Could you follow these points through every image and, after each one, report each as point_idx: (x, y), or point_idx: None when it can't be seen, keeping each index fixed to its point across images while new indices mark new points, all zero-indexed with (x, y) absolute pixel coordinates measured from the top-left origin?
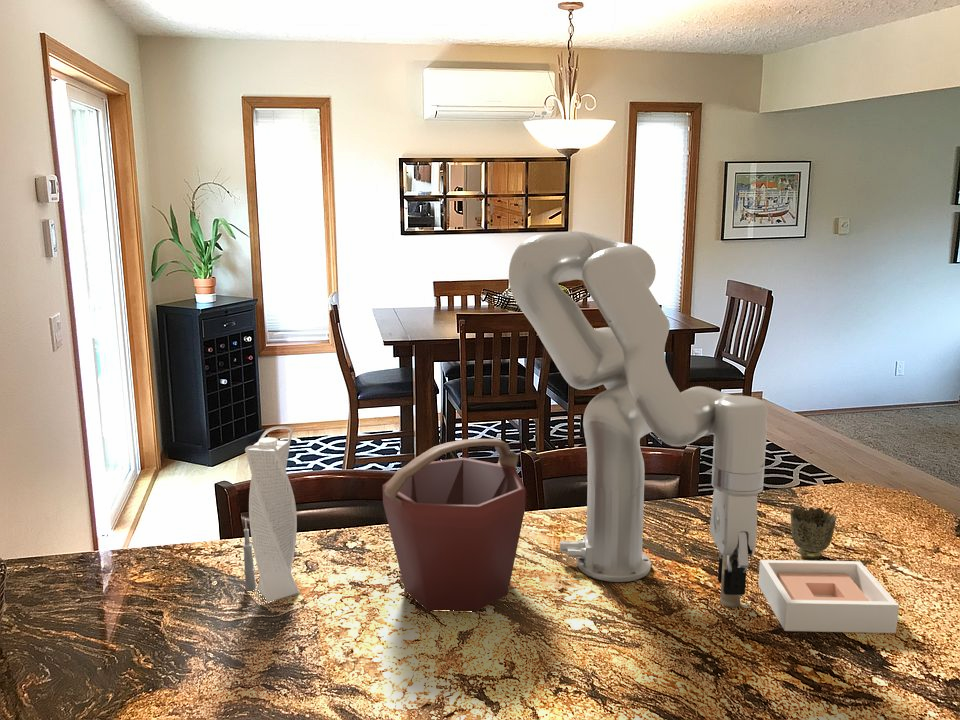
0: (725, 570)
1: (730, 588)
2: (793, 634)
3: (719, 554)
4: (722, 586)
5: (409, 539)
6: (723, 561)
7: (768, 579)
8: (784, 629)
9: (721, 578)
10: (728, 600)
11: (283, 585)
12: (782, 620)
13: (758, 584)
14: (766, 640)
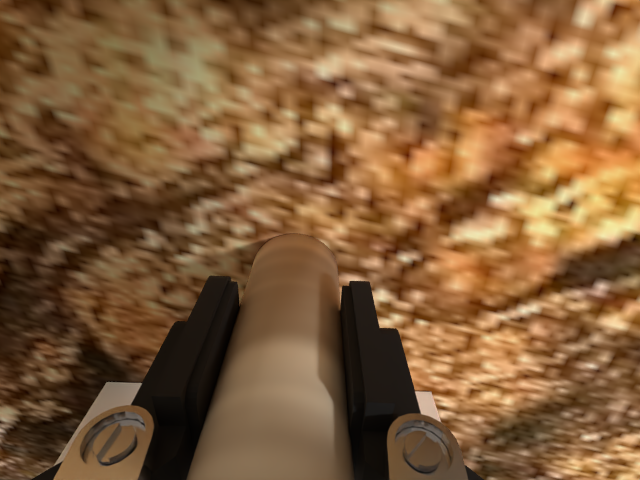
0: (160, 397)
1: (181, 325)
2: (92, 396)
3: (440, 429)
4: (274, 287)
5: None
6: (250, 439)
7: None
8: (106, 385)
9: (344, 307)
10: (250, 272)
11: None
12: (126, 402)
13: (430, 394)
14: (17, 317)
